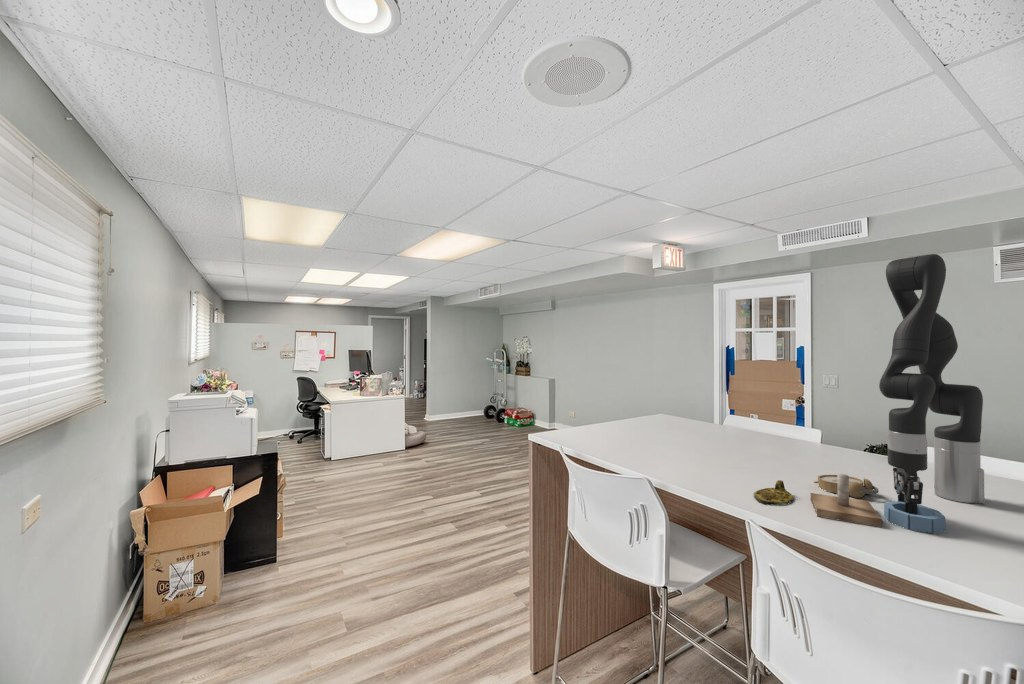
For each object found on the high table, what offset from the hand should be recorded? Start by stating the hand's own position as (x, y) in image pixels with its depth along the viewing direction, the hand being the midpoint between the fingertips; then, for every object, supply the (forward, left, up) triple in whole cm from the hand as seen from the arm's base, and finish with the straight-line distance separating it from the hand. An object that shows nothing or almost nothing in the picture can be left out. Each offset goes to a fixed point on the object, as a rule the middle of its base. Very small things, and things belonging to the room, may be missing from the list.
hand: (907, 513), depth 108 cm
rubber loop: (0, +4, -1) cm, 5 cm away
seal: (+30, +1, -2) cm, 30 cm away
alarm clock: (+10, -15, -1) cm, 18 cm away
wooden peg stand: (+14, +4, -1) cm, 15 cm away
